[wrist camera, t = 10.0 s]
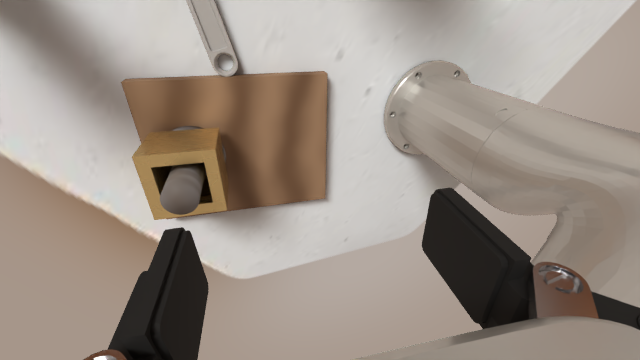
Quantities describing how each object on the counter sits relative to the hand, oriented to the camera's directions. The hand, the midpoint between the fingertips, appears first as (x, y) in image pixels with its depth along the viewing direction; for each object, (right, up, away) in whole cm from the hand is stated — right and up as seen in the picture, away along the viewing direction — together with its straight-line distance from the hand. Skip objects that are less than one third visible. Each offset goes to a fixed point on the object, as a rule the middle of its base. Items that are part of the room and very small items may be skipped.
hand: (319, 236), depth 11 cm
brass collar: (-15, +5, +22) cm, 27 cm away
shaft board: (-10, +6, +25) cm, 27 cm away
